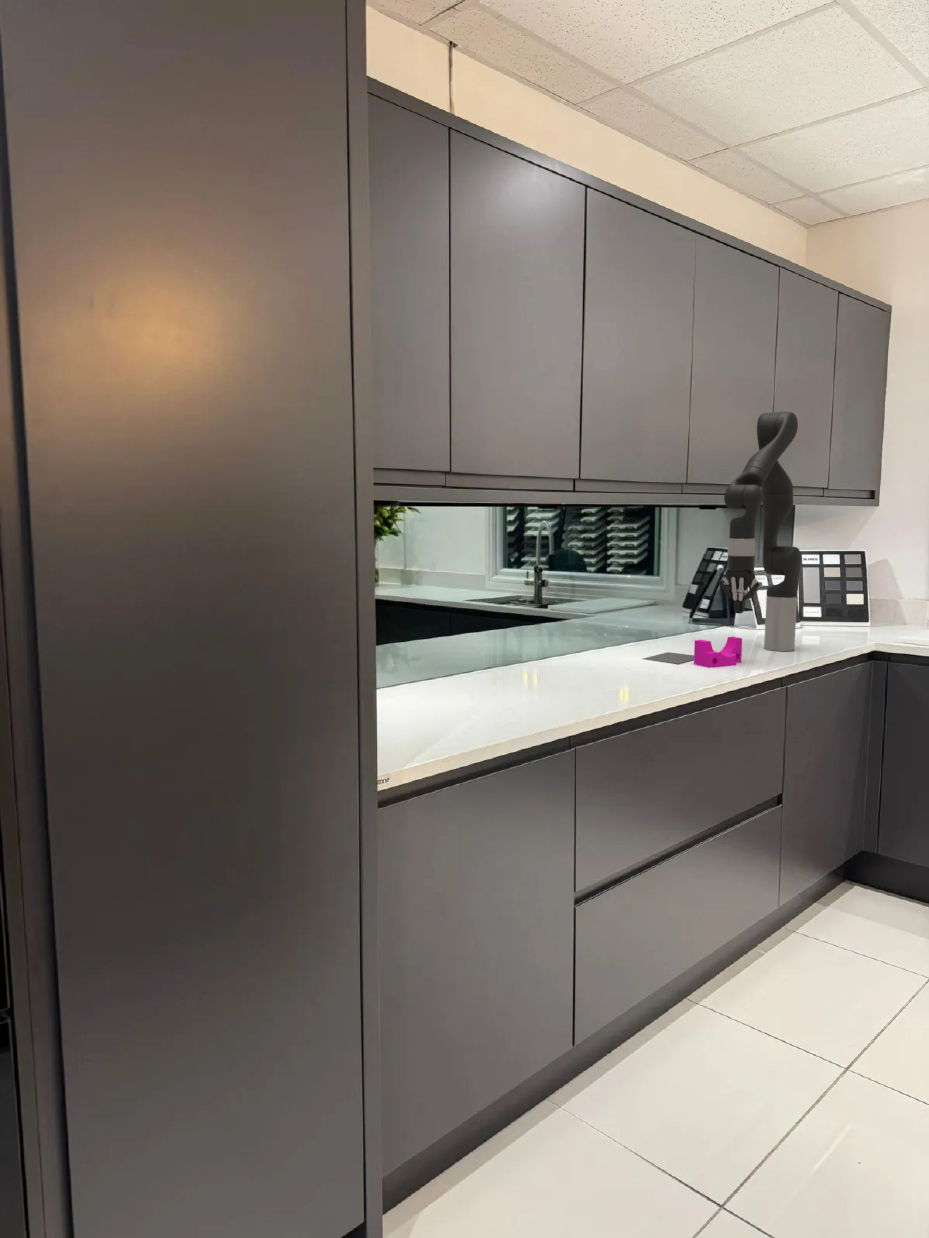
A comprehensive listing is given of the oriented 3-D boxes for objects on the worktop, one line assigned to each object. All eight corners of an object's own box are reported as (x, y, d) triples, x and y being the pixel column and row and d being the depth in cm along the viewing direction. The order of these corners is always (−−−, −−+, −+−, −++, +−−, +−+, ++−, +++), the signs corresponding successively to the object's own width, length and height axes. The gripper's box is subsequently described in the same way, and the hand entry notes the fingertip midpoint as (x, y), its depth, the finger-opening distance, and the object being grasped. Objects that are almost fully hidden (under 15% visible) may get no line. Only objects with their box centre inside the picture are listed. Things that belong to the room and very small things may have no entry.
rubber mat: (667, 654, 270) (667, 652, 270) (703, 658, 262) (703, 656, 262) (641, 660, 258) (641, 658, 258) (678, 665, 250) (678, 663, 250)
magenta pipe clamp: (709, 669, 246) (710, 643, 245) (693, 665, 252) (694, 640, 251) (747, 664, 253) (748, 639, 252) (731, 661, 259) (732, 636, 258)
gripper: (768, 554, 251) (766, 613, 253) (725, 552, 259) (723, 610, 262) (758, 555, 245) (755, 616, 247) (714, 553, 254) (712, 612, 256)
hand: (739, 613), depth 255 cm, fingers closed
